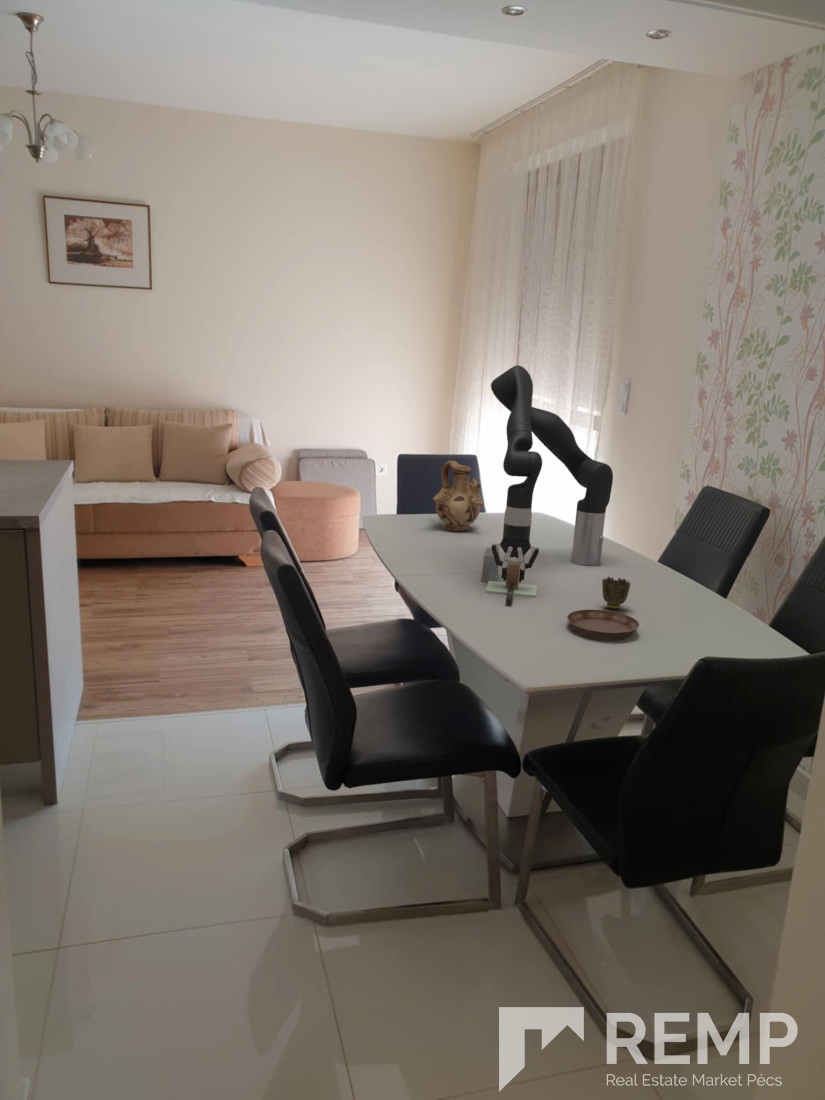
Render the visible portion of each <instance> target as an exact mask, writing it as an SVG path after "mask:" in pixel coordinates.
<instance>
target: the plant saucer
mask: <svg viewBox="0 0 825 1100" xmlns="http://www.w3.org/2000/svg"><path fill="white" fill-rule="evenodd" d="M566 619H567V621H568V623H569V625H570V626H571V628H572V629H573V630H574V631H575V632H576V633H578V634H580V635H582V636H584V637H588V638H591V639H597V640H605V641H617V640H624V639H626V638H629V637H631V636H632V635H633V634H634V633H636V632H637V630H638V629H639V627H640V623H639V622H638V620H637V619H635V618H634V617H632V616H630V615H627V614H624V613H621V612H617V611H614V610H607V609H579V610H574V611H572V612H570V613H568V615H567V616H566Z"/></svg>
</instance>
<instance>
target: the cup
mask: <svg viewBox="0 0 825 1100" xmlns="http://www.w3.org/2000/svg"><path fill="white" fill-rule="evenodd" d="M601 582H602V584H601V585H602V588H601V589H602V597H603V600H604V602H605V603H606V608H607V609H608V610H610V611H617V610H620V609H621V605H622V604H624V603H625V602H626V600H627V599H628V596H629V592H630V588H631V582H630V581H629V580H627V579H625V578H621V577H618V578H617V579H615V578H614V577H613V576H612V577H611V576H608V577H604V578H602V581H601Z"/></svg>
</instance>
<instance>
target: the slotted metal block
mask: <svg viewBox="0 0 825 1100" xmlns="http://www.w3.org/2000/svg"><path fill="white" fill-rule="evenodd" d="M500 550H501V549H500ZM500 550H499V551H498V553H499V554H500ZM482 561H483V562H482V571H481V572H482V573H481V582H482V583H487V584H488V581H496V582H497V577H498V574H499V566H498V565H496V562H495V559H494V555H493V552H492V548H491V547H486V549H485V552H484V553H483V560H482ZM496 576H497V577H496Z"/></svg>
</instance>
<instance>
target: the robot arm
mask: <svg viewBox="0 0 825 1100" xmlns="http://www.w3.org/2000/svg"><path fill="white" fill-rule="evenodd" d="M533 383H534V382H533V379H532V377H531V374H530V373H529V372H528V370H527V369H526V368H525V367H524V366H521V365H518V364H517V365H514V366H512V367H510V368H509V369H507V370H506V371H504V372H503V373H502V374H500V375H498V376H497V377H496V378H494V379H493V380H492V381H491V383H490V389H491V392H492V393H493V395H494V397H495V398H496V399H497V400H498V402H500V403H501V404H502V406H503V407H504V408H505V409H507V410H508V411H510V414H509V415H508V419H507V423H506V439H507V440H506V441H507V448H506V452H505V455H504V459H503V464H502V465H503V466H502V468H503V471H504V472H505V474H506V475H507V476H509V477H521V478H522V477H523V478H524V477H525V480H524V481H522V482H520V483H514V484H511V485H509V486H508V487H507V494H506V495H507V496H506V506H505V511H504V517H503V532H502V539H501V541H500V542H499V543H492V545H491V547H490V548H492V552H493V555H494V559H495V562H496V565H498V567H500V568H501V575H500V576H501V577H500V578H501V579H502V580H503V581H502V582H506V576H507V566H508V561H510V560H509V559H510V558H516V559H518V560H519V561H518V562H520V573H519V582H518V583H522V582H523V581H524V580H525V572H526V570H527V569H531V568H532V567H533V565H534V563H535V561H536V558H537V557H538V555H539V553H540V548H539V547H534V546H533V545H531V542H530V539H531V538H530V537H531V529H532V528H531V527H532V515H533V513H532V505H533V498H534V497H533V495H534V490H535V487H536V483H537V481H538V479H539V475H540V473H541V471H542V467H543V458H542V455H541V454H540V453H539V452H537V451H533V450H531V449H532V448H533V444H534V440H533V435H534V436H535V437H536V438H537V439H538V441H540V442H541V444H542V445H543V446H544V447H546V449H547V450H548V451H550V452H551V454H552V455H554V456H555V458H557V460H559V461H560V462H561V463H562V464H563V465H564V466H565V468H567V470H568V471H569V473H570V474H571V476H572V477H573V478H574V479H575V481H576V483H578V484H579V485H580V486H581V487H583V488H584V489H585V490H586V491H585V495H584V497H583V498H582V499H579V500H578V501H577V503H576V513H575V519H574V520H575V521H574V531H573V540H572V548H571V557H570V558H571V559H570V562H572V563H574V564H577V565H581V566H601V560H602V559H601V558H602V552H603V543H604V529H605V520H606V511H607V507H608V505H609V504H610V500H611V495H612V494H611V493H612V487H613V479H614V474H613V469H612V467H611V466H610V465H608V464H607V463H605V462H602V461H599V460H598V461H597V460H595V459H592V458H591V457H590V456H588V455H587V453H586V452H584V451H583V450H582V449H581V448H580V447H579V445H578V443H577V441H576V438H575V435H574V433H573V430H571V428H570V427H569V425H567V423H566V422H565V421H564V420H563V419H562V418H561V417H560V416H559V415H558V414H556V413H555V412H554V413H553V412H552V411H548V410H546V409H541V408H538V407H535V406H532V405H533V393H534V384H533ZM500 548H501V549H502V551H503V552H504V554H505V555H504V559H503V560H501V557H500V553H498V551H499V550H501V549H500ZM529 551H530V555H531V556H530V558H529V560H528V562H525V555H526V554H527V552H529Z"/></svg>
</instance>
